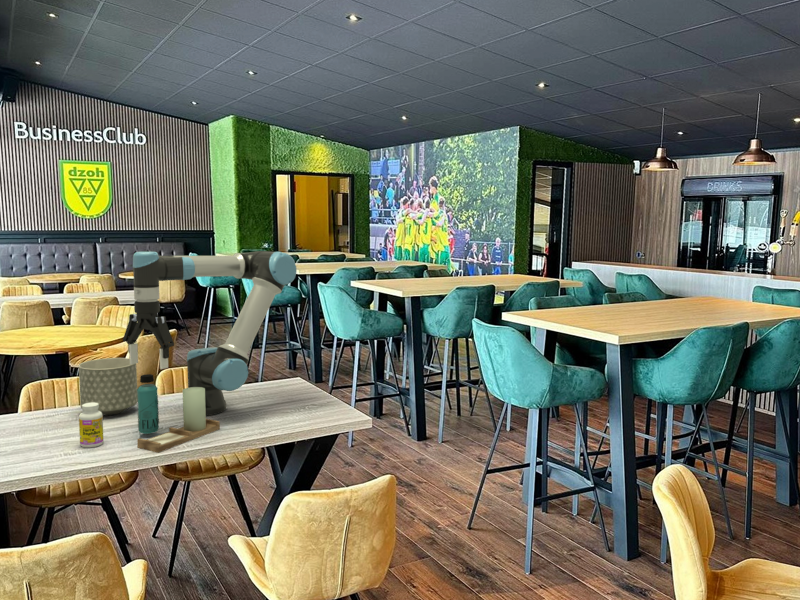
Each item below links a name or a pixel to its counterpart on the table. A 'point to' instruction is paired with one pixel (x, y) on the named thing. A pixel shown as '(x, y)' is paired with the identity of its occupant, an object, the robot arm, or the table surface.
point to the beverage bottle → (147, 406)
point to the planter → (108, 384)
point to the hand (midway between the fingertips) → (148, 366)
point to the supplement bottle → (91, 425)
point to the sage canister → (194, 409)
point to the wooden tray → (175, 437)
